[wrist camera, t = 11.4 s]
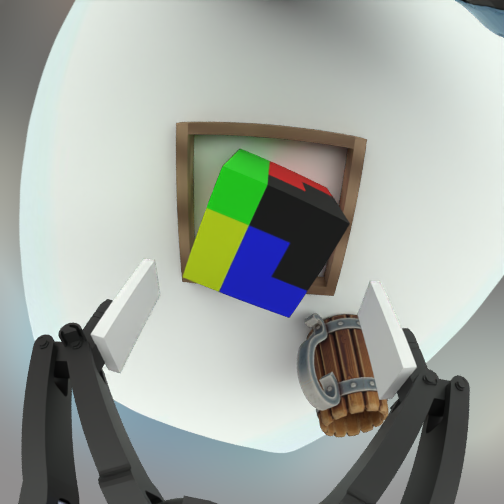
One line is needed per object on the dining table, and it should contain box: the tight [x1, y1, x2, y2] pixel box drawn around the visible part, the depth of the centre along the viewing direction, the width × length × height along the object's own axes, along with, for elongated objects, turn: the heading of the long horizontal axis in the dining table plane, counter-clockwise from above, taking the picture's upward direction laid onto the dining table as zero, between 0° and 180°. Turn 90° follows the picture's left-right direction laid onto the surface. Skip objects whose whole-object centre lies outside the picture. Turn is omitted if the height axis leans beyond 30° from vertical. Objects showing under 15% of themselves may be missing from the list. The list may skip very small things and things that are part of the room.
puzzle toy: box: [183, 149, 350, 318], centre depth 25 cm, size 10×10×10 cm
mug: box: [297, 313, 388, 437], centre depth 31 cm, size 16×11×15 cm
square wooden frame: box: [176, 122, 367, 296], centre depth 28 cm, size 18×18×2 cm
